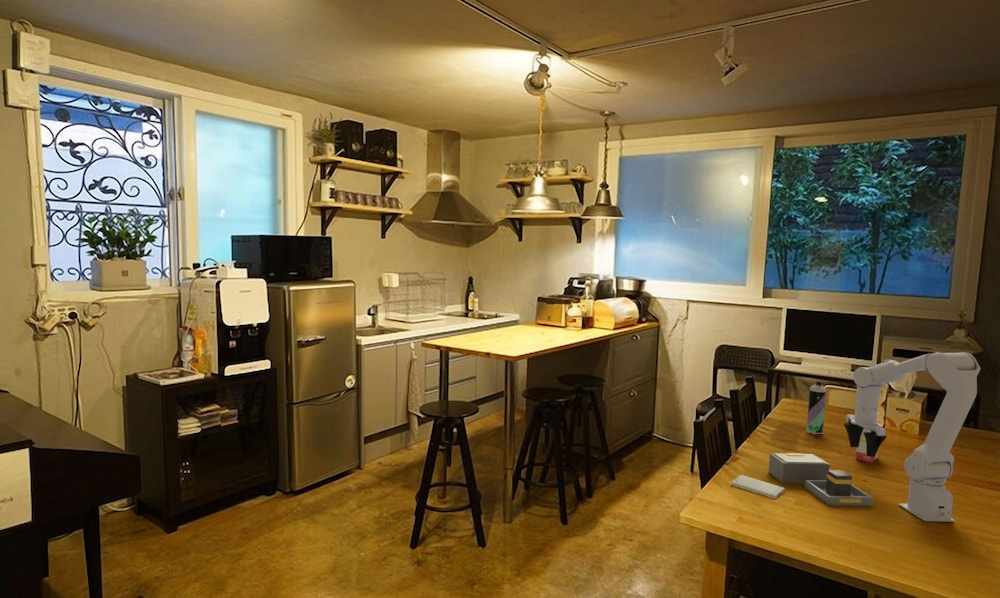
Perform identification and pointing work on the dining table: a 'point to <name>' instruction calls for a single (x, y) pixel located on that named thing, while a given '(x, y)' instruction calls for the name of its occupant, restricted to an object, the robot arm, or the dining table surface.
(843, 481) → the block
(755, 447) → the dining table surface
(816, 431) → the spray can
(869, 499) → the tray
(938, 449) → the robot arm
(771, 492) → the hard drive
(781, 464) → the pale grey flat box
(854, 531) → the dining table surface
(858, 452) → the ink box
